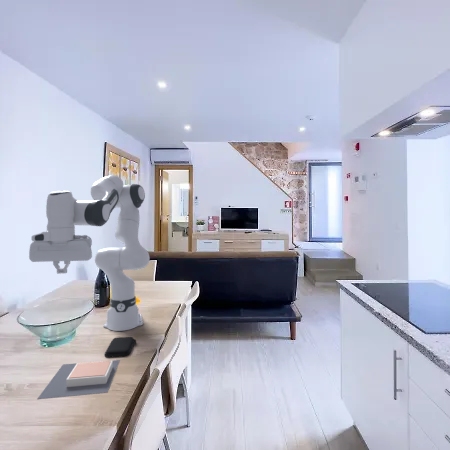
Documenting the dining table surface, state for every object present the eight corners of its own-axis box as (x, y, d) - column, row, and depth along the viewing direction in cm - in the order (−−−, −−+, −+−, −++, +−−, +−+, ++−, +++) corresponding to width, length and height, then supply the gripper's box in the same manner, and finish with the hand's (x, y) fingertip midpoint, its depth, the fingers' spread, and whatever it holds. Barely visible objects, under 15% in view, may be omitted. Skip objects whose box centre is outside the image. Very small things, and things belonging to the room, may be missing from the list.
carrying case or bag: (132, 358, 113) (138, 341, 127) (132, 351, 113) (137, 335, 127) (103, 360, 111) (112, 343, 126) (103, 352, 111) (112, 336, 126)
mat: (63, 366, 106) (62, 364, 106) (120, 361, 110) (120, 360, 110) (37, 401, 87) (37, 399, 87) (107, 394, 90) (107, 392, 90)
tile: (76, 362, 102) (112, 360, 104) (77, 370, 103) (112, 367, 104) (66, 378, 93) (105, 375, 95) (66, 387, 93) (106, 383, 95)
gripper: (94, 234, 110) (94, 270, 111) (35, 235, 107) (36, 272, 107) (89, 235, 104) (89, 274, 104) (26, 236, 101) (27, 276, 101)
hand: (62, 273), depth 106 cm, fingers closed
